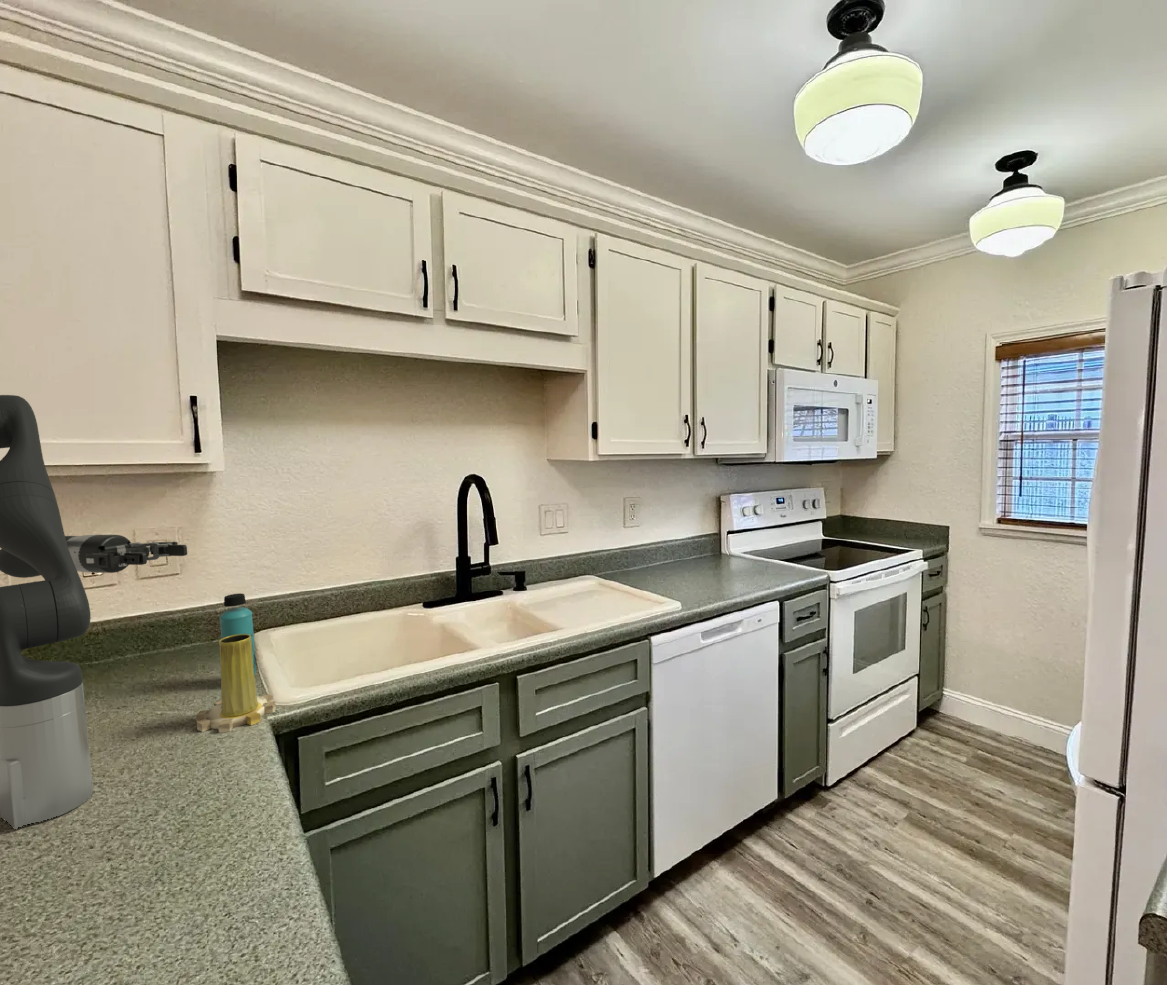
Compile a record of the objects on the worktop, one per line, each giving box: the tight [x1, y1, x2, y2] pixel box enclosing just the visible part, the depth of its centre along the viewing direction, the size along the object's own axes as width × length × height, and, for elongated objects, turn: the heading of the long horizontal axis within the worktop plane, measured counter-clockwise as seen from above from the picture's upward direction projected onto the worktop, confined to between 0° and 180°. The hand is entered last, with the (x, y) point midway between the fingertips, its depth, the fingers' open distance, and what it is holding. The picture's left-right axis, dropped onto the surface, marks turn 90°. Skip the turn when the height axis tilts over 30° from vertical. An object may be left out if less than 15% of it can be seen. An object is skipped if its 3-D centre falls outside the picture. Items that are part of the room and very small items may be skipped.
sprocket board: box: [195, 693, 277, 734], centre depth 107 cm, size 13×13×2 cm
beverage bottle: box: [219, 593, 258, 676], centre depth 123 cm, size 6×7×20 cm
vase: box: [218, 634, 258, 717], centre depth 106 cm, size 6×6×14 cm
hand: (166, 554), depth 107 cm, fingers open, 8 cm apart
